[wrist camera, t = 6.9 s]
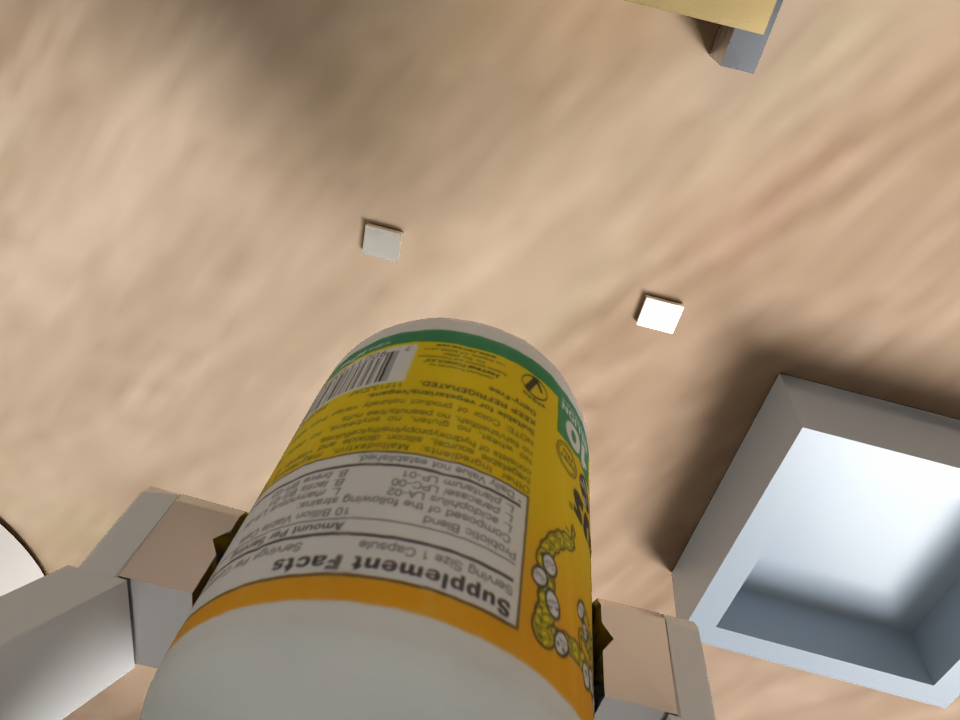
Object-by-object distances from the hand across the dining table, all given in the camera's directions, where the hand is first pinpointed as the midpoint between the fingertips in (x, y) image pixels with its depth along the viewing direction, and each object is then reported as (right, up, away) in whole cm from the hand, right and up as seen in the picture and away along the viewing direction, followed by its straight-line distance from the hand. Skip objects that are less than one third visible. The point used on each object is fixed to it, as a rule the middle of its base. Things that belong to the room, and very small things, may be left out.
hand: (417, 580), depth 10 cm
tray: (+15, -2, +14) cm, 21 cm away
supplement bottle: (0, +2, +3) cm, 4 cm away
